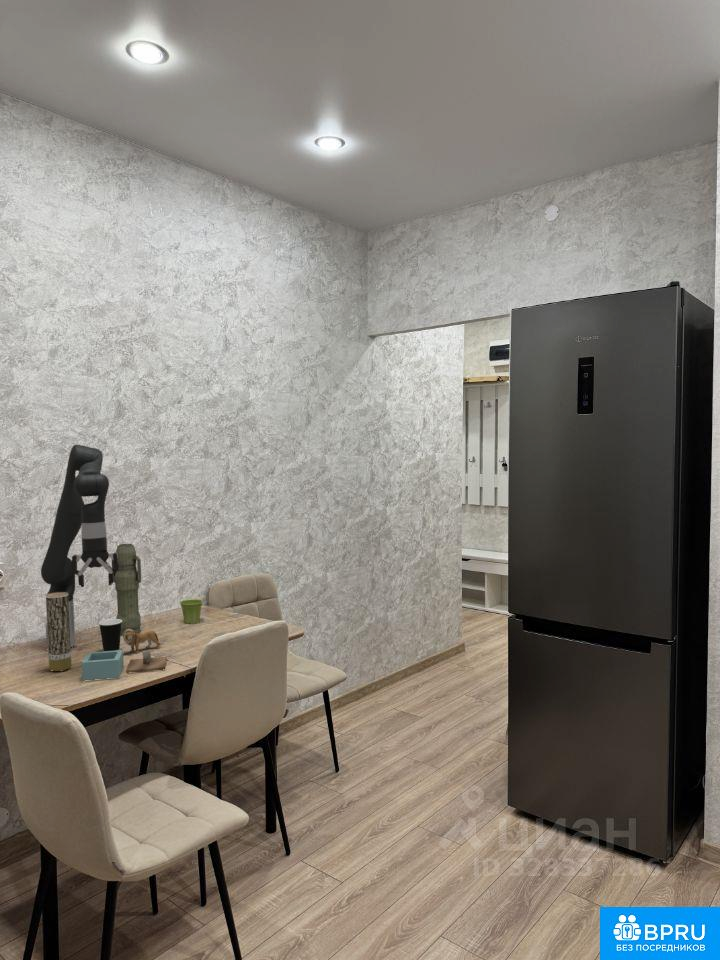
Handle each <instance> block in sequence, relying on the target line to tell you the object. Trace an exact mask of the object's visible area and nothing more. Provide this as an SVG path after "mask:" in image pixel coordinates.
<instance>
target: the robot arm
mask: <svg viewBox="0 0 720 960" xmlns="http://www.w3.org/2000/svg"><path fill="white" fill-rule="evenodd" d="M103 460H104V454H103V452H102V451H101V449H99V448H95V447H91V446H85V445H81V444H74V445H72V447H71V449H70V451H69V456H68V461H67V466H66V473H65V477H64V478H65V479H64V484H63V488H62V492H61V496H60V499H59V502H58V506H57V510H56V515H55V518H54V519H55V520H54V524H53V527H52V528H53V529H52V533H51V535H50V541H49V545H48V549H47V550H46V553H45V557H44V559H43V561H42V565H41V568H40V574H41V575H40V576H41V578H42V580H43V581H44V582H45V583H46V584H48V585H49V590H48V591H47V593H46V595H47V594H50V593H57V592H67V593H68V599H69V622H70V644H71V647H72V648H74V647H75V646H76V630H75V629H76V627H75V624H76V623H75V609H74V608H75V607H74V606H75V605H74V604H75V603H74V594H75V592H76V576H77V578H78V580H77V581H78V585H79V586H80V587H81V588H84V587H85V576H84V573H85V571H86V570H87V569H88V568H90V569H93V568H102V567H103V568H104V570H106V571H107V572H108V574H107V575H108V586H112V585H113V584H114V572H116V571H118V570H119V561H118V553H117V552H116V551H115V552H113V553H109V552H108V541H107V539H108V538H107V537H108V536H107V535H108V533H107V525H106V518H105V517H106V514H105V505H106V499H107V495H108V491H109V488H110V480H109V478H108V477H107V476H106V475H105V474H103V473H102V472H101V471H102V467H103ZM77 472H78V474H77ZM76 474H77V475H76ZM84 497H85V498H86V497H97V498H96V500H95V501H94V502H93V501H92V502H90V503H85V502H84V499H83V498H84ZM79 532H81V550H82V553H81V555H80V554H78V555H77V554H73V556H72V557H71V558H69V557H68V555H69V551H70V549H71V546H72V544H73V543H74V540H76V537H77V535H78V534H79ZM109 558H110V559H111V560H114V568H113V569H112V565H110V564H109V562H108V561H107V560H108V559H109ZM80 561H82V562H83V563H84V564H83V565H82V567H81V568H80V570H79V569H78V562H80ZM45 638H46V639H45V640H46V650H47V649H48V633H47V623H46V624H45ZM73 646H74V647H73Z"/></svg>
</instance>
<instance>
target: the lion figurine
mask: <svg viewBox="0 0 720 960" xmlns="http://www.w3.org/2000/svg"><path fill="white" fill-rule="evenodd" d="M122 637H123V641H124V643H125V644H127V645H128V646H130V648H131V650H130V651H129V653H134V654H139V652H140V651H139V646H140V644H144V643H146V642H148V645H147V646H145V649H150V647H151V646H152V643H153V644H156V646H155V649H160V648H161V647H160V646H161V643H160V641H159V637H158V634H157V632H156V631H154V630H151V629H150V630H147V631H144V632H140V633H138V632H137V631H134V630H132V629H127V630H125V631H124V633H123V636H122Z"/></svg>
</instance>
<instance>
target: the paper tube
mask: <svg viewBox="0 0 720 960" xmlns="http://www.w3.org/2000/svg"><path fill="white" fill-rule="evenodd" d="M45 605H46V606H45V607H46V608H45V610H46V624H47V633H48V650H47V652H48V668H49V669H50V670H53V671H60V672H62V671H61V670H65V671H67V670H66V669H68V670H70V669H71V668H72V652H71V651H72V648H71V644H70V622H69V599H68V593H67V592H57V593H50V594H47V593H46V595H45ZM69 668H70V669H69ZM50 670H49V671H50Z"/></svg>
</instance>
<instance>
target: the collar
mask: <svg viewBox="0 0 720 960" xmlns="http://www.w3.org/2000/svg"><path fill="white" fill-rule="evenodd" d="M124 665H125V664H124V649H119V650H117V651H104V650H103V651H94V652H87V653H86V655H85V656H84V658H83V660H82V661H81V675H82V676H81V677H82V678H81V679H82V680H81V681H85V680H95V679H107V678H119V677H120V678H121V676H122V673H123V671H124V669H123V668H124V667H125V666H124ZM122 670H123V671H122ZM120 675H121V676H120ZM120 678H119V679H120ZM85 682H86V681H85Z"/></svg>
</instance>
